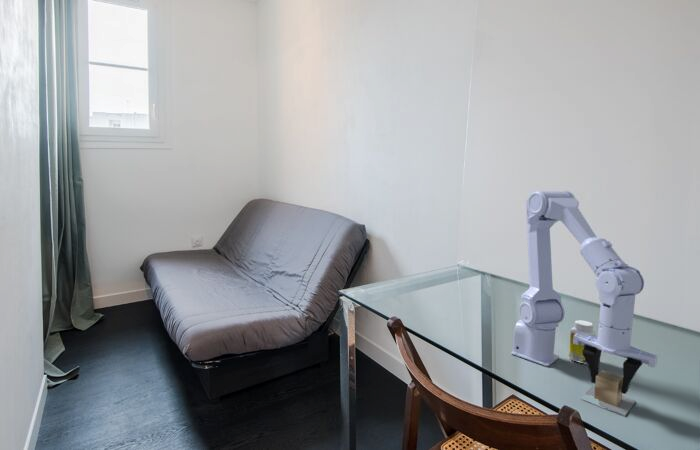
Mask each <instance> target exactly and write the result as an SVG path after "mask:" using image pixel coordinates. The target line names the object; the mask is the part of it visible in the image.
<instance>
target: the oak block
mask: <svg viewBox="0 0 700 450" xmlns="http://www.w3.org/2000/svg"><path fill="white" fill-rule="evenodd" d="M622 382H623V376H621V375H620V374H619V375H618V374H615V373H612V372H610V371H609V372H608V371H606V370H603V369H602V370H600V371H599V374H598V375H597V376H596V382H595V383H594V386H595V395H594V398H595V399H598V400H600V401H603V402H605V403H608V404H611V405H614V406H617V405H618V404H619V402H620V401H621V400H622V396H623V393H621V388H622Z"/></svg>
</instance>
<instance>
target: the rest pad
mask: <svg viewBox="0 0 700 450" xmlns="http://www.w3.org/2000/svg"><path fill="white" fill-rule="evenodd" d="M584 394H586V395H589V396H590V395H592V396H594V395H595V385H592V386H591V387H590V388H589V389H588V390H587V391H586V392H585V393H584ZM598 401H599V405H600V406H602V407H605V408H607V409H610V410H612V411H614V412H616V413H615V414H617V413H618V414H617V415H619V414H621V415H620V416H622V415H623V417H624V416H625V417H626V416H627V415H626V414H629V412H630V410H631V409H632V408H633V406H634V404H635V403H636V402H637V401H636V400H634V399H632V398H630V397H627V396H624V395H622V400H621V401H620V402H619V404H618V405H617V406H614V405H611V404H608V403H605V402H603V401H600V400H598ZM607 409H606V410H607ZM612 411H611V412H612ZM614 412H613V413H614Z"/></svg>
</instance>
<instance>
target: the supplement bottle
mask: <svg viewBox="0 0 700 450" xmlns="http://www.w3.org/2000/svg"><path fill="white" fill-rule="evenodd" d="M593 329H594V325H593V323H592V322H590V321H587V320H581V319H579V320H575V321H574V327H572V328H571V329H570V336H569V337H570V338H569V348H568V358H569V360H571V361H572V360H573V361H572V362H574V361H580V362H582V363H584V364H583V365H588V364H587V362H586V360H585V357H584V356H583V353H582V350H583V349H584V346H583V345H580V344H579V345H576V344H573V339H574V335H575V334H577V333H578V334H582V335H586V336H592V337H596V335H597V334H596V332H595V331H594V330H593Z"/></svg>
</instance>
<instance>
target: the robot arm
mask: <svg viewBox="0 0 700 450" xmlns="http://www.w3.org/2000/svg"><path fill="white" fill-rule="evenodd" d="M579 204H580V203H579V200H578V199H577V198H576V197H575V195H574V194H573V192H571V191H569V190H561V191H559V190H555V191H554V190H553V191H552V190H534V191H533V192H532V193H530V195H529V196H528V197H527V199H525V210H526V211H525V212H526V231H527V232H526V234H527V256H528V257H527V258H528V277H529V279H528V281H529V288H528V289H527V290H525V291H524V292H523V293H522V294H521V296H520V304H519V308H518V314H519V317H520V319H518V321H517V322H516V323H515V326H514V330H513V340H512V341H513V343H512V351H511V355H514V356H515V357H519V358H522V359H525V360H527V361H530V362H533V363H535V364H539V365H542V366H544V367H549V366H550V365H552V364H553V363H554V362H556V361H557V360H558V359H560V355H558V354H554V353H555V344H556V328H557V327H559V323H561V322H563V320H564V318H565V307H564V306H563V305H564V304H563V303H562V296H561V295H560V293H558V292H557V291H556V290H555V289H554V288H553V269H552V251H551V250H552V247H551V228H552V227H553V226H554V225H555V224H556V223H558V222H559V221H560V222H562V224H563V225H564V226H565V227H566V229H568V231H569V232H570V233H571V234H572V235H573V237H574V238H575V240H577V242H578V243H580V245H581V246H580V251H579V253H580V255H581V256H582V257H583V259H584V261H585V262H586V263H587V264H588V266H589V267H590V269H591V270H592V272H593V273H594V275H595V276H596V277H597V278H595V279H594V280H595V287H596V289H597V291H598V299H599V301H600V302H599V303H600V307H599V317H598V328H597V337H592V336H586V335H582V334H578V333H577V334H575V335H574V339H573V344H576V345H579V344H580V345H583V346H584V349H583V350H582V353H583V356H584V357H585V360H586V362H587V364H586V365H587V367H588V370H589V375H590V380H591V383H592V384H595V382H596V376H597V375H598V374H599V373H600V361H601V357H602V356H601V355H602V353H606V354H609V355H615V356H618V357H621V358H624V359H625V360H624V362H623V363H622V370H623V372H622V373H623V376H622V377H623V382H622V388H621V393H622V394H624V395H626V394H627V393H628V392H629V388H630V384H631V382H632V381H633V379H634V376H635V374H637V372H638V370H639V369H640V367H642V365H643V364H645V365H647V366H648V367H651V368H655V367H656V366H657V365H658V358H659V357H658V355H657V354H653V353H650V352H647V351H645V350H643V349H640V348H637V347H635V346H631V342H632V330H633V325H634V323H633V322H634V316H635V315H634V313H635V303H636V295H638V294H640V293H641V292H642V291H643V289H644V286H645V280H644V276H643V275H642V274H641V271H640V270H639V269H637V268H636V267H634V266H629V264H628V263H626V262H625V261H624V260H622V258H621V257H620V256H619V254H618V253H617V252H616V251H615V249H614V248H613V244H612V243H611V241H609V240H607V239H605V238H603V237H597V235H596V234H595V232H594V230H593V229H592V228H591V226H590V225H589V223H588V221H587V220H586V218H585V217H584V215H583V213H582V211H581V210H580V209H579Z"/></svg>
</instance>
